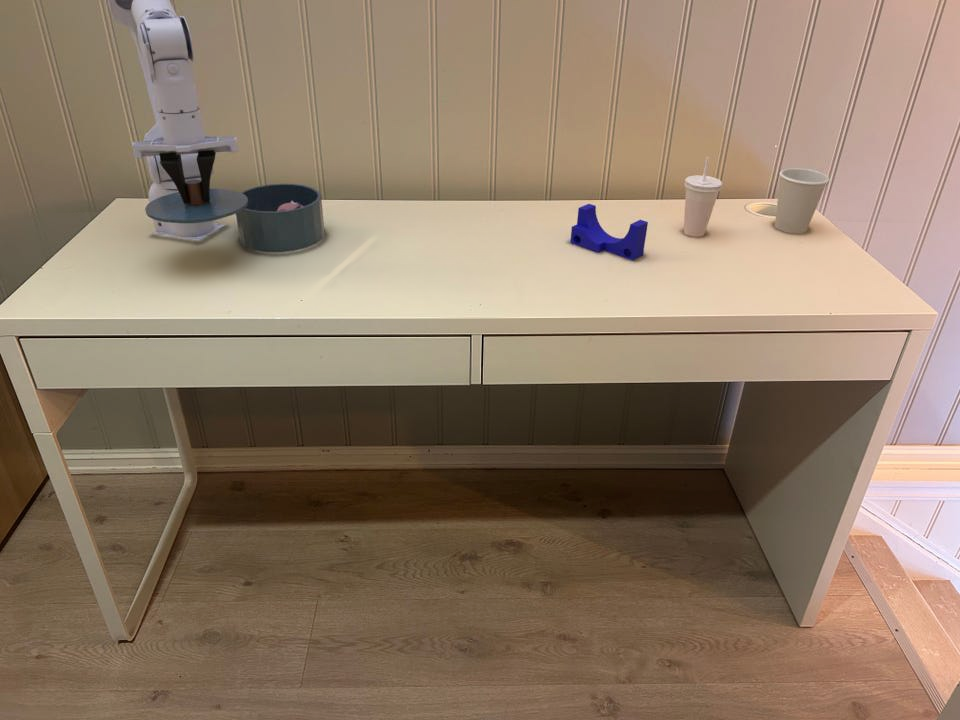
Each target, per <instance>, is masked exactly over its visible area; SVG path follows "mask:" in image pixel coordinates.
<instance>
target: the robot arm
mask: <svg viewBox="0 0 960 720" xmlns="http://www.w3.org/2000/svg"><path fill="white" fill-rule="evenodd" d="M107 4H108V8H109V12H110V13H111V14H112V17H113V20H114V21H116V22H118V23H120V24H122V25H124V26H126V27H127V29H128V31H129V33H130V35H131V37H132V39H133V42H134V44H135V47H136V51H137V56H138V59H139V63H140V68H141V71H142V76H143V79H144V82H145V87H146V91H147V94H148V98H149V102H150V106H151V111H152V114H153V118H154V123H155V124H154V125H153V126H152V127H151V128H150V129H149V130H148V131H147V132H146V133H145V134H144V136H143V140H141V141H133V142H132V144H131V149H132V154H133V158H134V159H143V158H144V157H145V160H146V165H147V169H148V173H149V176H150V179H151V182H152V184H151V185H150V186H149V187H150V188H149V190H148V204H149V203H150V202H151V201H153V200H155V199H157V198H159V197H162V196H165V195H168V194H172V193H176V192H179V193H180V195H181V197H182V200H183V203H184V204H189V200H188V195H187V191H186V186H185V182H186V181H188V180H194V179H197V180H201V181H202V188H203V197H204V201H205V203H206V202H210V189H211V188H210V186H211V178H212V177H213V175H214V164H215V160H216V154H217V153H225V152H226V153H228V152H230V153H239V144H238V139H237V136H216V135H213V136H212V135H205V134H206V133H205V130H204V129H205V128H204V124H203V119H202V112H201V108H200V103H199V96H198V92H197V91H198V90H197V85H196V80H195V75H194V68H193V65H192V63H191V62H193V63H194V60H195V59H194V56H195V53H194V52H195V51H194V50H195V49H194V43H193V37H192V34H191V33H192V32H191V29H190V27H189V24H188V21H187V20H186V17H185V16H183V15H181V16H178V14H177V13H176V10H175V8H174V5H173V0H107ZM189 60H190V61H191V62H190V61H189ZM152 221H153V226H154V230H155V231H153V232H152V234H153V235H158V236H165V237H171V238H177V239H184V240H191V241H197V242H198V241H201V240H203V239H204V238H206V237H208V236H209V235H211V234H213V233H214V232H216V231H218V230H220V229H221V228H222V227H224V226H226V224H225V223H222V222H221V223H220V222H214V221H209V222H202V223H169V222H162V221H158V220H154V219H152Z"/></svg>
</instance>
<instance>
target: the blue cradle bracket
mask: <svg viewBox="0 0 960 720" xmlns="http://www.w3.org/2000/svg"><path fill="white" fill-rule="evenodd" d="M648 224H649V222H648V221H646V220H642V219H639V220H636V221H634V222H632V223H630V224H629V229H628V232H627V233H626V234H625V236H624V237H622V238H621V237H615V236H613V235H611V234H609V233H607V232H606V231H605V229H603V227H602V226H601V224H600V222H599V220H598V216H597V207H596V205H595V204H591V203H587V204H584V205H582V206H579V207H578V210H577V219H576V224H574V225H572V226H571V231H570V242H569V243H570V244H572V245H575V246H579V247H581V248H584V249H587V250H590V251H593V252H595V253H597V254H599V253H601V252H603V251H604V252H607V253H610V254H613V255H616V256H619V257H622V258H625V259H627V260H631V261H635V260H637V259H639V258H641V257H643V256H644V252H645V245H646V238H647V233H648V232H647V231H648Z"/></svg>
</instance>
